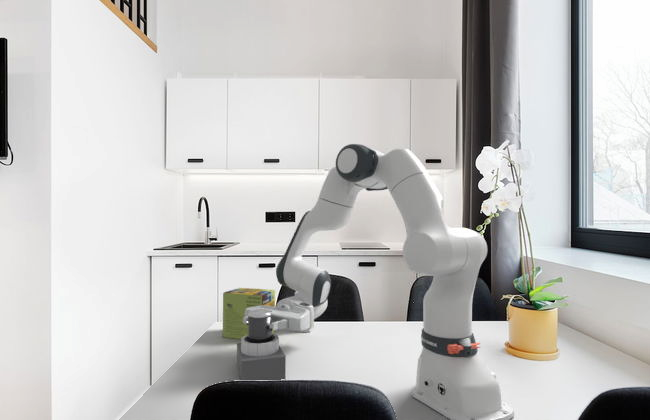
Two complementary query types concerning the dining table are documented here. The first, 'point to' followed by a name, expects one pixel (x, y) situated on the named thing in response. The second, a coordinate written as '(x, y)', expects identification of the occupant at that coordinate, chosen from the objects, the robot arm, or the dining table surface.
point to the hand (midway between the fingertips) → (257, 324)
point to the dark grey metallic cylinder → (259, 326)
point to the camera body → (261, 360)
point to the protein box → (242, 308)
